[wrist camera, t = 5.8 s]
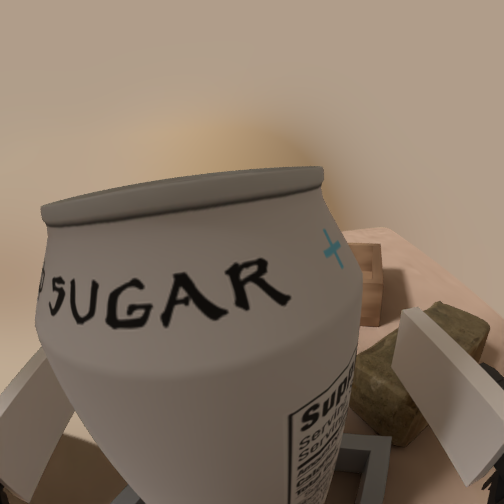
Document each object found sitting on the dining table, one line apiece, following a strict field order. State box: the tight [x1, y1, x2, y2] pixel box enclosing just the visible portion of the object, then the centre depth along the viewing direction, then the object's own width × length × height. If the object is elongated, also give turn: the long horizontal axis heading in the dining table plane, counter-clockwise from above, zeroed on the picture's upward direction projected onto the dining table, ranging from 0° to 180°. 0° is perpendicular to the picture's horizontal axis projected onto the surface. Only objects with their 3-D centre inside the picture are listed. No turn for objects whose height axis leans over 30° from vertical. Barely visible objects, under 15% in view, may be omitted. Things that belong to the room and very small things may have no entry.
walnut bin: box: [348, 243, 383, 327], centre depth 33 cm, size 13×13×4 cm
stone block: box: [349, 301, 490, 447], centre depth 16 cm, size 6×12×5 cm, turn 118°
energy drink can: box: [35, 166, 363, 504], centre depth 7 cm, size 6×6×15 cm
